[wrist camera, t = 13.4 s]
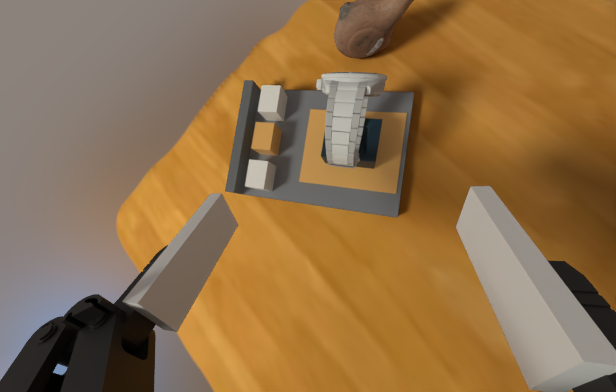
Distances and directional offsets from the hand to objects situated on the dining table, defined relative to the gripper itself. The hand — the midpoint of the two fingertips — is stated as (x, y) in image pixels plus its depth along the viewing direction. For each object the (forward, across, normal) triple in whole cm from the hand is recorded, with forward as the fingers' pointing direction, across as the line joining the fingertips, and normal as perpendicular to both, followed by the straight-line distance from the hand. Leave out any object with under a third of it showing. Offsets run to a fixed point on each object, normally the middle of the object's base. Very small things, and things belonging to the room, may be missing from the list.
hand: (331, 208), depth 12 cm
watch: (+14, +1, -4) cm, 15 cm away
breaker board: (+16, -4, -4) cm, 17 cm away
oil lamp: (+25, +3, +4) cm, 25 cm away
